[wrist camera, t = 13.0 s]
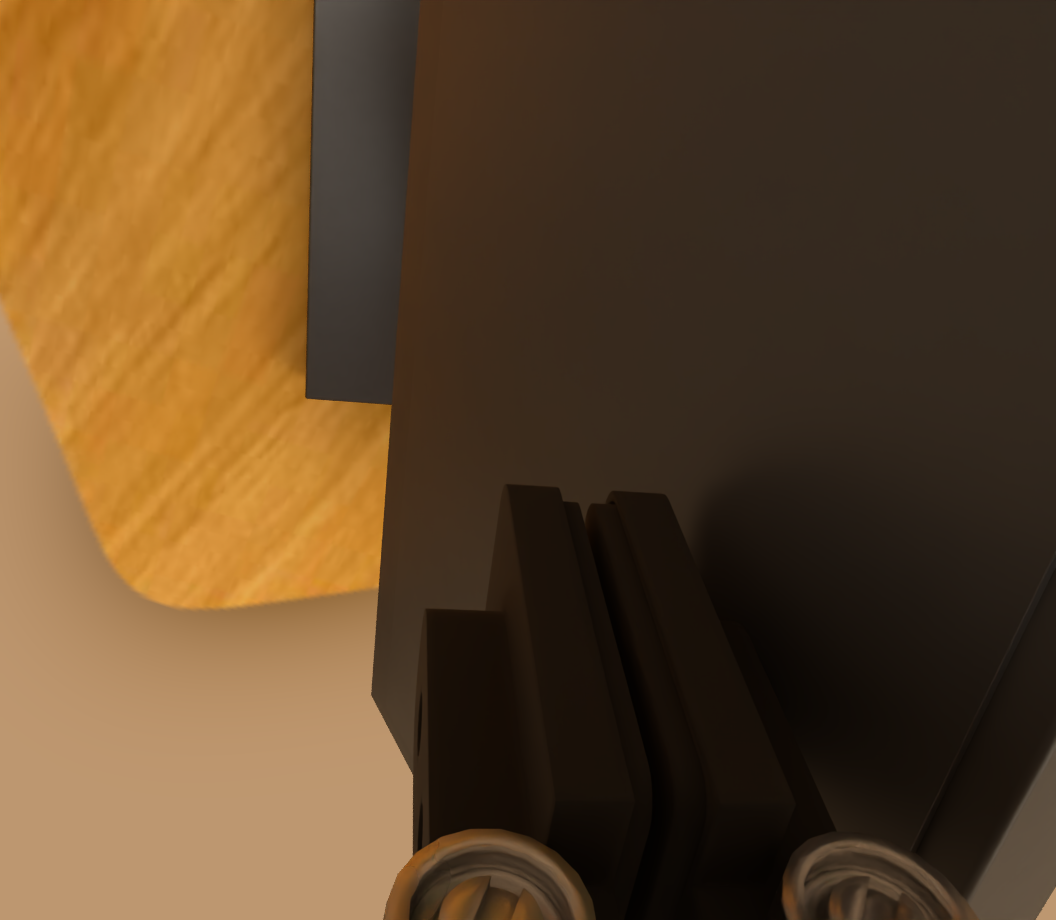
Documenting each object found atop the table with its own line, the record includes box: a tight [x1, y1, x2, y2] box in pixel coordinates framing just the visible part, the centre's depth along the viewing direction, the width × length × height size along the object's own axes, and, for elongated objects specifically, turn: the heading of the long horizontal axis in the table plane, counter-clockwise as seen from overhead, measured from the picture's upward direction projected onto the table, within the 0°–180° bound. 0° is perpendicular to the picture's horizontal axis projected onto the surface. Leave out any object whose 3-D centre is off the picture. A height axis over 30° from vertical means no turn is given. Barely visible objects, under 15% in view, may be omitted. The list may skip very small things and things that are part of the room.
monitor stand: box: [305, 0, 420, 405], centre depth 20 cm, size 10×12×12 cm
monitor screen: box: [371, 0, 1056, 920], centre depth 12 cm, size 2×17×12 cm, turn 172°
